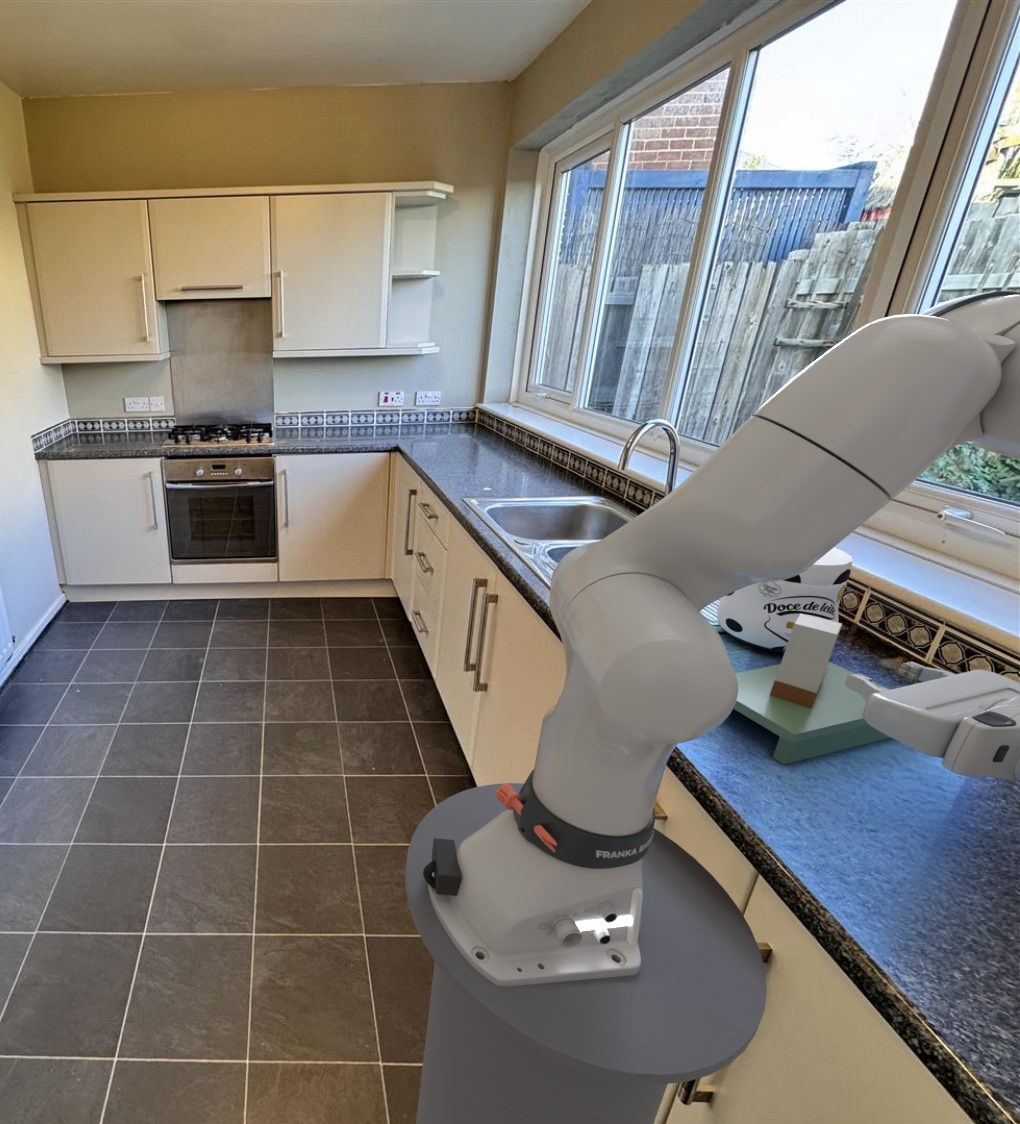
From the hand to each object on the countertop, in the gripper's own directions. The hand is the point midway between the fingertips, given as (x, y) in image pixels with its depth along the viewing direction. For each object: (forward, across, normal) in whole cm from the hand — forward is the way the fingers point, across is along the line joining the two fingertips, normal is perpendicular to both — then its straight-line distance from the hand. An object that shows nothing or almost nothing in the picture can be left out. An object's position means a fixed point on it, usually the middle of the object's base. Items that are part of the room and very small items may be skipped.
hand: (876, 672), depth 80 cm
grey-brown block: (+9, -2, +9) cm, 13 cm away
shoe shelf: (+8, -3, +14) cm, 16 cm away
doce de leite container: (+28, -23, +14) cm, 39 cm away
